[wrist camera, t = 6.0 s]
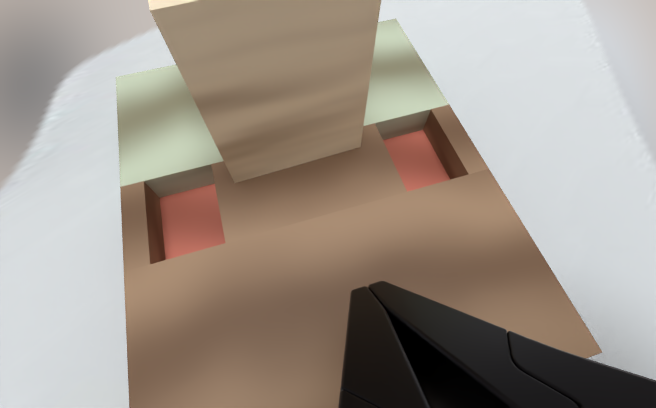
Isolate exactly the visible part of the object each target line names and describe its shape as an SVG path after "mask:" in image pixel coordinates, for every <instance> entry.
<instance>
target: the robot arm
mask: <svg viewBox="0 0 656 408" xmlns="http://www.w3.org/2000/svg"><path fill="white" fill-rule="evenodd" d="M340 390H341V391H340V395H339V404H338V408H656V381H655V380H652V379H649V378H646V377H643V376H640V375H636V374H633V373H630V372H627V371H624V370H621V369H618V368H614V367H611V366H608V365H605V364H602V363H599V362H595V361H592V360H589V359H586V358H583V357H580V356H577V355H574V354H571V353H568V352H565V351H562V350H559V349H557V348H554V347H551V346H548V345H546V344H543V343H540V342H538V341H535V340H532V339H530V338H527V337H525V336H522V335H520V334H517V333H515V332H512V331H508V333H507V330H506V329H504V328H502V327H499V326H497V325H494V324H492V323H489V322H487V321H484V320H482V319H479V318H476V317H474V316H471V315H469V314H466V313H464V312H461V311H459V310H456V309H454V308H451V307H449V306H446V305H444V304H441V303H439V302H436V301H434V300H431V299H429V298H426V297H424V296H421V295H419V294H416V293H414V292H411V291H409V290H406V289H403V288H401V287H398V286H396V285H393V284H391V283H388V282H386V281H379V282H376V283H372V284H370V285H368V287H367V286H363V287H360V288H357V289H353V290H352V291H351V293H350V302H349V312H348V321H347V331H346V340H345V350H344V359H343V369H342V378H341V387H340Z"/></svg>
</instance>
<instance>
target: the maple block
mask: <svg viewBox="0 0 656 408" xmlns="http://www.w3.org/2000/svg"><path fill="white" fill-rule="evenodd" d="M148 2H149V8H150V12H151V13H152V16H153V17H154V20H155V22H156V24H157V26H158V28H159V30H160V32H161V34H162V36H163V38H164V40H165V42H166V44H167V46H168V48H169V50H170V52H171V54H172V56H173V59H174V61H175V63H176V65H177V67H178V69H179V71H180V73H181V75H182V77H183V79H184V81H185V83H186V85H187V87H188V89H189V91H190V93H191V95H192V97H193V99H194V101H195V103H196V105H197V107H198V109H199V112H200V114H201V116H202V118H203V120H204V122H205V124H206V126H207V128H208V130H209V132H210V134H211V136H212V138H213V140H214V142H215V144H216V146H217V148H218V150H219V152H220V154H221V156H222V158H223V160H224V162H225V164H226V167H227V169H228V171H229V173H230V175H231V177H232V179H233V181H234V183H237V182H240V181H244V180H247V179H251V178H254V177H258V176H261V175H265V174H268V173H272V172H275V171H279V170H282V169H286V168H289V167H293V166H296V165H299V164H303V163H306V162H310V161H313V160H317V159H320V158H324V157H327V156H331V155H334V154H338V153H341V152H345V151H348V150H352V149H355V148H359V147H361V140H362V132H363V125H364V118H365V111H366V104H367V97H368V90H369V82H370V75H371V68H372V61H373V54H374V47H375V40H376V33H377V25H378V18H379V11H380V4H381V0H148Z"/></svg>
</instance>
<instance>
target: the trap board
mask: <svg viewBox="0 0 656 408" xmlns="http://www.w3.org/2000/svg"><path fill="white" fill-rule="evenodd" d="M116 91H117V115H118V140H119V164H120V188H121V212H122V237H123V261H124V285H125V310H126V334H127V358H128V382H129V407H130V408H338V404H339V395H340V391H341V390H340V387H341V378H342V369H343V359H344V350H345V340H346V331H347V321H348V312H349V302H350V293H351V291H352V290H353V289H357V288H360V287H363V286H367V287H368V285H370V284H372V283H376V282H379V281H386V282H388V283H391V284H393V285H396V286H398V287H401V288H403V289H406V290H409V291H411V292H414V293H416V294H419V295H421V296H424V297H426V298H429V299H431V300H434V301H436V302H439V303H441V304H444V305H446V306H449V307H451V308H454V309H456V310H459V311H461V312H464V313H466V314H469V315H471V316H474V317H476V318H479V319H482V320H484V321H487V322H489V323H492V324H494V325H497V326H499V327H502V328H504V329H506V330H507V333H508V331H512V332H515V333H517V334H520V335H522V336H525V337H527V338H530V339H532V340H535V341H538V342H540V343H543V344H546V345H548V346H551V347H554V348H557V349H559V350H562V351H565V352H568V353H571V354H574V355H577V356H580V357H583V358H589V357H591V356H594V355H596V354H599V353H602V351H601V349H600V348H599V346H598V344H597V343H596V341H595V340H594V338H593V336H592V335H591V333H590V331H589V330H588V328H587V327H586V325H585V323H584V322H583V320H582V319H581V317H580V315H579V314H578V312H577V310H576V309H575V307H574V306H573V304H572V302H571V301H570V299H569V298H568V296H567V294H566V293H565V291H564V289H563V288H562V286H561V285H560V283H559V281H558V280H557V278H556V277H555V275H554V273H553V272H552V270H551V268H550V267H549V265H548V264H547V262H546V260H545V259H544V257H543V256H542V254H541V252H540V251H539V249H538V247H537V246H536V244H535V243H534V241H533V239H532V238H531V236H530V235H529V233H528V231H527V230H526V228H525V226H524V225H523V223H522V222H521V220H520V218H519V217H518V215H517V214H516V212H515V210H514V209H513V207H512V205H511V204H510V202H509V201H508V199H507V197H506V196H505V194H504V193H503V191H502V189H501V188H500V186H499V184H498V183H497V181H496V180H495V178H494V176H493V175H492V173H491V171H490V170H489V168H488V167H487V165H486V163H485V162H484V160H483V159H482V157H481V155H480V154H479V152H478V150H477V149H476V147H475V146H474V144H473V142H472V141H471V139H470V138H469V136H468V134H467V133H466V131H465V129H464V128H463V126H462V125H461V123H460V121H459V120H458V118H457V117H456V115H455V113H454V112H453V110H452V108H451V107H450V105H449V104H448V102H447V100H446V99H445V97H444V96H443V94H442V92H441V91H440V89H439V87H438V86H437V84H436V83H435V81H434V79H433V78H432V76H431V75H430V73H429V71H428V70H427V68H426V66H425V65H424V63H423V62H422V60H421V58H420V57H419V55H418V54H417V52H416V50H415V49H414V47H413V45H412V44H411V42H410V41H409V39H408V37H407V36H406V34H405V33H404V31H403V29H402V28H401V26H400V24H399V23H398V21H397V20H396V19H392V20H387V21H383V22H378V25H377V33H376V40H375V47H374V54H373V61H372V68H371V75H370V82H369V90H368V97H367V104H366V111H365V118H364V125H363V132H362V140H361V147H359V148H355V149H352V150H348V151H345V152H341V153H338V154H334V155H331V156H327V157H324V158H320V159H317V160H313V161H310V162H306V163H303V164H299V165H296V166H293V167H289V168H286V169H282V170H279V171H275V172H272V173H268V174H265V175H261V176H258V177H254V178H251V179H247V180H244V181H240V182H237V183H234V181H233V179H232V177H231V175H230V173H229V171H228V169H227V167H226V164H225V162H224V160H223V158H222V156H221V154H220V152H219V150H218V148H217V146H216V144H215V142H214V140H213V138H212V136H211V134H210V132H209V130H208V128H207V126H206V124H205V122H204V120H203V118H202V116H201V114H200V112H199V109H198V107H197V105H196V103H195V101H194V99H193V97H192V95H191V93H190V91H189V89H188V87H187V85H186V83H185V81H184V79H183V77H182V75H181V73H180V71H179V69H178V67H177V65H172V66H167V67H162V68H157V69H152V70H148V71H143V72H138V73H133V74H129V75H124V76H119V77H116Z"/></svg>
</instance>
